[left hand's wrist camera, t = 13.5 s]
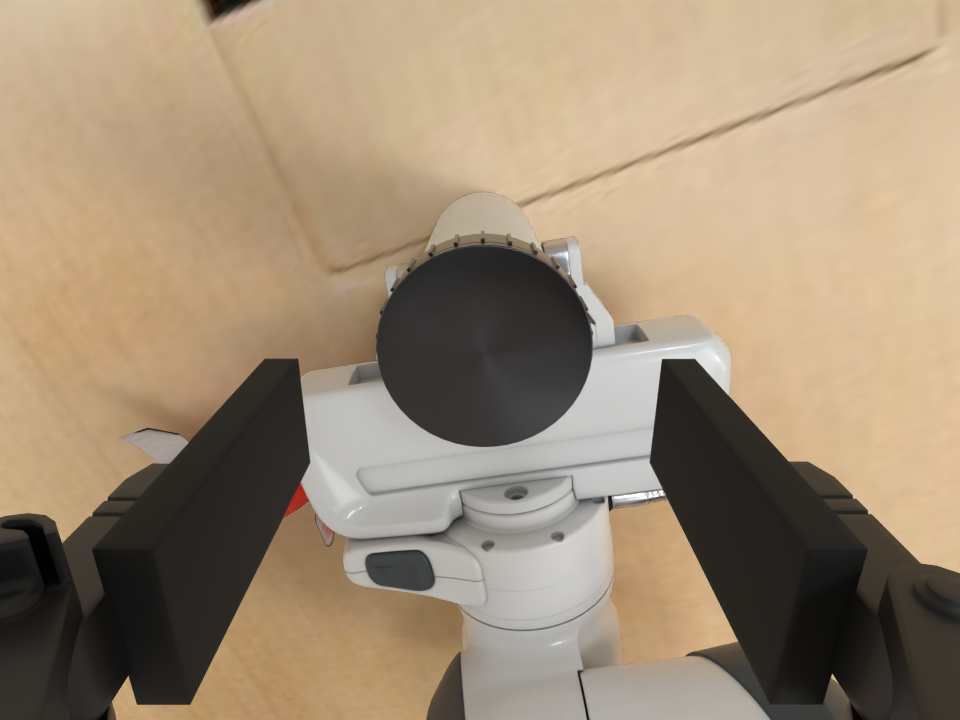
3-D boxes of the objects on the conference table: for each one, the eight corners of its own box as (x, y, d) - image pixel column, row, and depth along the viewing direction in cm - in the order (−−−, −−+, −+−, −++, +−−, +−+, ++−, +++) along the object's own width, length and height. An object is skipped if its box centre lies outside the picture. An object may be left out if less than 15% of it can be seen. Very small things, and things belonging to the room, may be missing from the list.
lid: (623, 354, 19) (637, 376, 17) (462, 454, 21) (460, 484, 19) (510, 186, 17) (514, 193, 16) (341, 310, 19) (327, 329, 17)
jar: (553, 256, 32) (611, 367, 18) (471, 312, 33) (464, 458, 19) (495, 170, 31) (508, 216, 16) (411, 232, 32) (354, 327, 17)
